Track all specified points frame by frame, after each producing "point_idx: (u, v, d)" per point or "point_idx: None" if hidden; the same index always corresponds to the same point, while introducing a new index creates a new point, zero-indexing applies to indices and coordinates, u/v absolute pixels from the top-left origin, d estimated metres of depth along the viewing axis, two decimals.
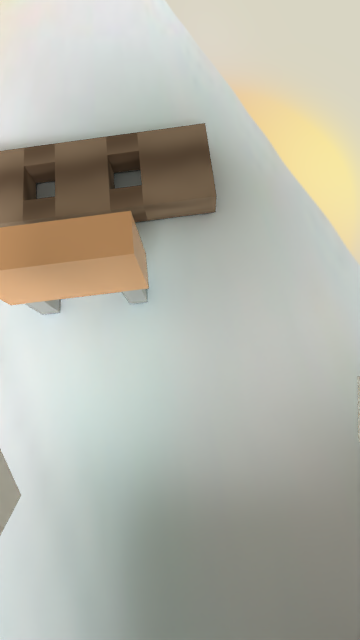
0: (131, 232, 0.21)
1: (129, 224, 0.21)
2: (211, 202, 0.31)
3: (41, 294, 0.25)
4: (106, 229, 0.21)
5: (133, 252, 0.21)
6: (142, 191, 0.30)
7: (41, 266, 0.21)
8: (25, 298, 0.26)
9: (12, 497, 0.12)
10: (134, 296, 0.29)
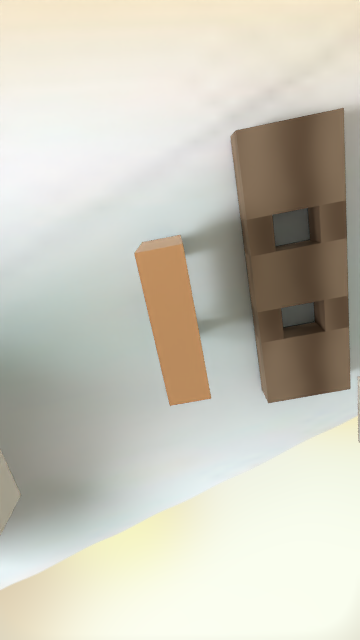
0: (189, 401, 0.24)
1: (197, 398, 0.24)
2: (265, 394, 0.34)
3: None
4: (191, 381, 0.24)
5: (171, 404, 0.24)
6: (276, 340, 0.31)
7: (152, 329, 0.22)
8: None
9: (12, 497, 0.12)
10: None
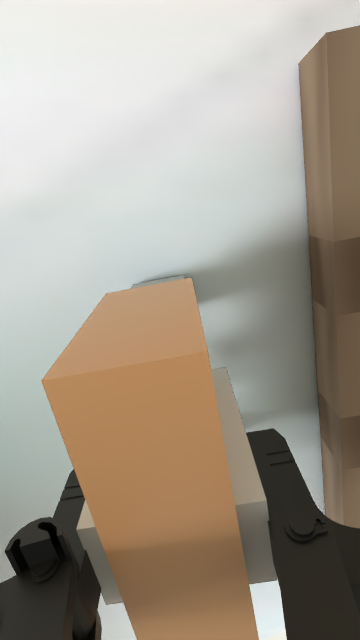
0: None
1: None
2: None
3: None
4: None
5: None
6: None
7: (115, 566, 0.08)
8: None
9: None
10: None
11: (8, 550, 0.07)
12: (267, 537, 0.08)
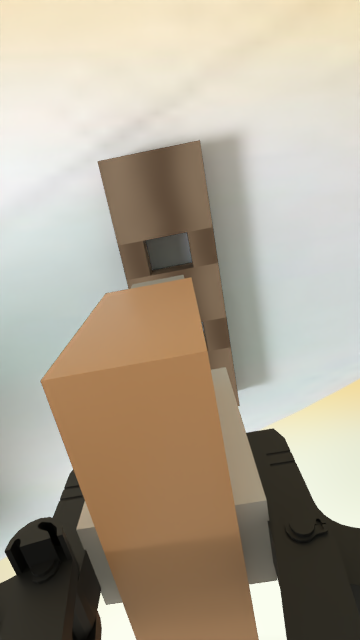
0: None
1: None
2: None
3: None
4: None
5: None
6: None
7: (114, 566, 0.08)
8: None
9: None
10: None
11: (8, 550, 0.07)
12: (267, 537, 0.08)
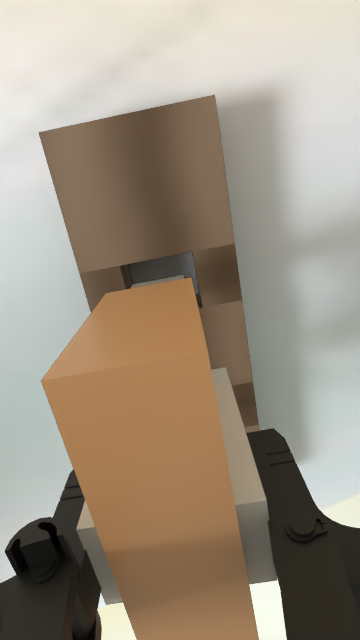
0: None
1: None
2: None
3: None
4: None
5: None
6: None
7: (114, 566, 0.08)
8: None
9: None
10: None
11: (8, 550, 0.07)
12: (267, 537, 0.08)
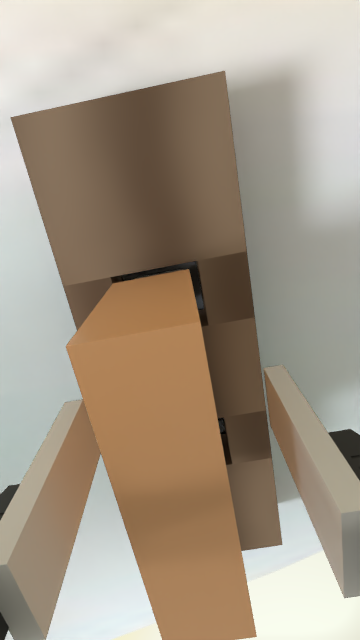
0: None
1: (226, 637, 0.11)
2: None
3: None
4: (214, 609, 0.10)
5: None
6: None
7: (123, 511, 0.09)
8: None
9: (96, 453, 0.14)
10: None
11: None
12: None
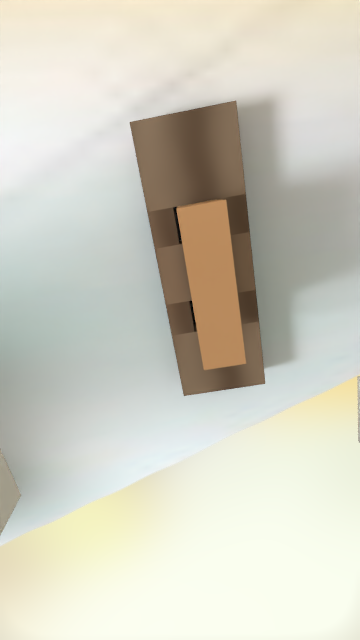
0: (224, 366, 0.24)
1: (232, 363, 0.24)
2: None
3: None
4: (227, 345, 0.23)
5: (205, 369, 0.24)
6: (187, 333, 0.31)
7: (190, 290, 0.22)
8: None
9: (12, 497, 0.12)
10: None
11: None
12: None
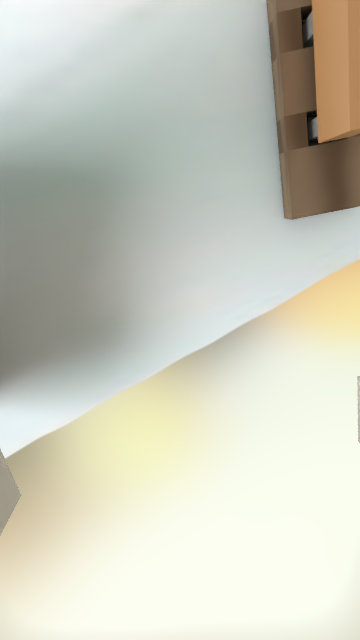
0: None
1: None
2: (288, 215, 0.36)
3: (320, 34, 0.27)
4: None
5: (351, 129, 0.26)
6: (301, 148, 0.33)
7: (346, 39, 0.24)
8: (317, 15, 0.27)
9: (12, 497, 0.12)
10: (311, 129, 0.33)
11: None
12: None
